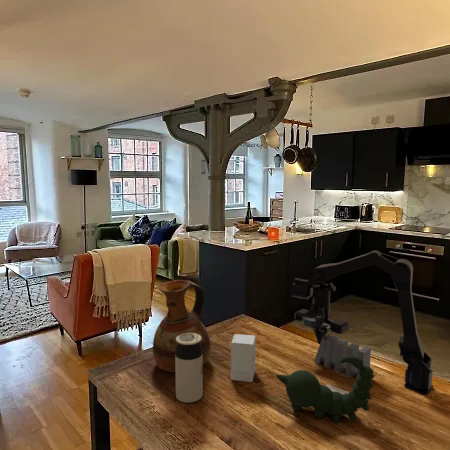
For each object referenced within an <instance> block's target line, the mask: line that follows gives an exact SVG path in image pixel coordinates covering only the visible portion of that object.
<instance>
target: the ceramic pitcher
mask: <svg viewBox="0 0 450 450" xmlns="http://www.w3.org/2000/svg"><path fill="white" fill-rule="evenodd" d="M190 288H193V289H194V293H195V299H194V305H193V307H192V309H191V310H190V311H189V310H188V309H187V307H186V302H185V295H186V292H187V291H188V290H189V289H190ZM158 290H159V291H160V292H161V293H163V294H164V296H165V299H166V301H165V303H166V307H167V313H166V316H165V317H164V318H163V319H162V320H161V321H160V323H159V324H158V325H157V327H156V330H155V332H154V337H153V341H152V353H153V358H154V361H155V363H156V365H157V366H158V368H159V369H161V370H162V371H166V372H170V373H176V371H175V348H176V346H177V341H176V337H177V336H179V335H181V334H184V333H196V334H199V335H200V336H201V337H202V339H201V341H200V344H201V346H202V355H203V365H204V364H205V363H206V362H207V361H208V360H209V358H210V356H211V352H212V351H211V350H212V344H211V343H212V342H211V339H210V335H209V331H208V330H207V328H206V326H205V324H204V323H203V322H202V321H201V315H202V311H203V307H204V302H205V294H204V291H203V288H202V287H201V286H200V285H199V284H197V283H195V282H193V281H191V280H187V279H173V280H171V281H165V282H163V283H161V284H159V285H158Z"/></svg>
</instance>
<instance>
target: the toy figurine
mask: <svg viewBox="0 0 450 450" xmlns="http://www.w3.org/2000/svg"><path fill="white" fill-rule="evenodd" d="M344 362H348V363H351V364H352V365H353V366H354V367H356V368H357V369H359V374H358V375H357V374H356V376H355V377H356V378H355V382H354V383H353V385H352V389H351V390H350V391H348V392H349V393H348V394H344V395H343V394H341V393H339V392H332V391H331V389H330V388H328V387H327V386H326V385H324V384H321V383H320V380H319V379H318V378H317V377H316V375H315V374H314V373H312V372H310V371H308V370H305V369H299V370H296V371H294V372H292V373H290V374H288V375H287V374H275V378H277V379H278V380H279V381H280V382H281V383H282V384H283V385H284V386H285V392H286V395H287V397H288V399H289V402H290V403H291V408H292V409H293V410H294V411H297V412H299V411H301V410H302V408H310V407H312V408H313V409H314V416H315V417H317V418H318V419H322V418H323V417H324V416H325V413H328V414H329V415H330V416H332V417H331V419H332V421H333V422H334V423H339V422H340V420H341V417H343V416H345V415H346V416H347V417H348V420H350V421H351V422H355V421H356V420H357V415H356V412H357V411H358V409H363V411H365V412H367V411H369V410H370V406H369V400H372V395H371V393H370V392H371V389H372V388H373V387H374V385H373V380H372V379H374V378H375V374H374V369H372V368H371V366H370V367H368V366H364V364H363V362H362V360H361V359H360V358H358V357H356V356H345V357H343V358H342V359H341V360H340V363H344Z"/></svg>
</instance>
